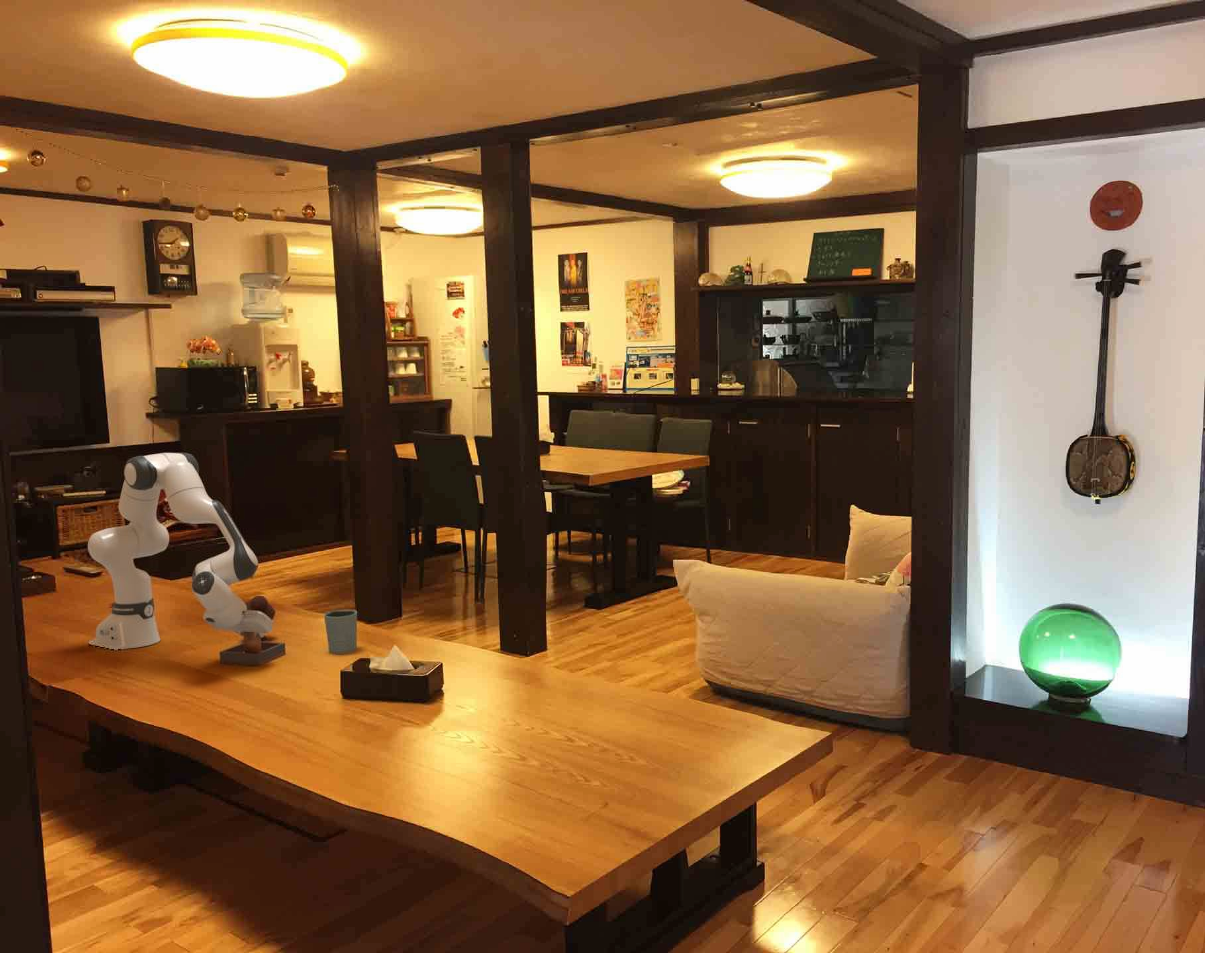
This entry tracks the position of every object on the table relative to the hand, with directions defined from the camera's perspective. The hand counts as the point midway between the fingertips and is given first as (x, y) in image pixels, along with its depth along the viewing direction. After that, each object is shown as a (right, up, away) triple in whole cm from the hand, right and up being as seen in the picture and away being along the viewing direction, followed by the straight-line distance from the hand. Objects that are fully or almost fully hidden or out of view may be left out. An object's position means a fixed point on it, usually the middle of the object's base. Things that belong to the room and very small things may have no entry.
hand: (253, 634), depth 317 cm
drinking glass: (+26, -6, +7) cm, 27 cm away
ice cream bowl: (-5, -5, +22) cm, 23 cm away
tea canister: (0, -5, 0) cm, 5 cm away
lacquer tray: (0, -7, 0) cm, 7 cm away
